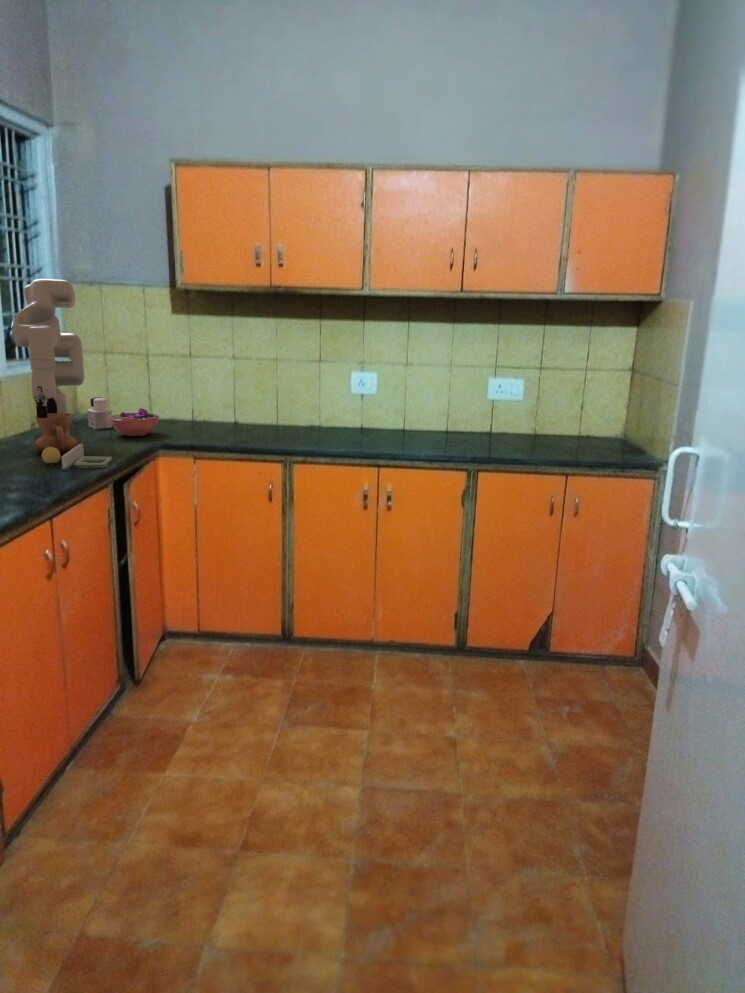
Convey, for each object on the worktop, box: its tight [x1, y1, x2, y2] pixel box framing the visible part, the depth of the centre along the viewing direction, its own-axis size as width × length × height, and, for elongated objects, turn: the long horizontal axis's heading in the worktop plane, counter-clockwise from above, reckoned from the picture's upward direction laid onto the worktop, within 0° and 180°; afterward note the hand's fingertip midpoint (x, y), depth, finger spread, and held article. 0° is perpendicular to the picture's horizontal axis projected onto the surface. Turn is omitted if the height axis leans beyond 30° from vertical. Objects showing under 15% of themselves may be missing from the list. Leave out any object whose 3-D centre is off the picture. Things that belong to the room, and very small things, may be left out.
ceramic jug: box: [34, 412, 78, 454], centre depth 253 cm, size 18×14×14 cm
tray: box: [73, 455, 113, 466], centre depth 239 cm, size 10×10×2 cm
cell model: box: [110, 408, 161, 437], centre depth 288 cm, size 17×20×11 cm
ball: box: [41, 447, 62, 464], centre depth 237 cm, size 6×6×6 cm
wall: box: [61, 443, 85, 469], centre depth 239 cm, size 20×1×5 cm, turn 6°
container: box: [86, 396, 113, 430], centre depth 302 cm, size 8×8×13 cm
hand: (47, 415), depth 233 cm, fingers open, 9 cm apart
